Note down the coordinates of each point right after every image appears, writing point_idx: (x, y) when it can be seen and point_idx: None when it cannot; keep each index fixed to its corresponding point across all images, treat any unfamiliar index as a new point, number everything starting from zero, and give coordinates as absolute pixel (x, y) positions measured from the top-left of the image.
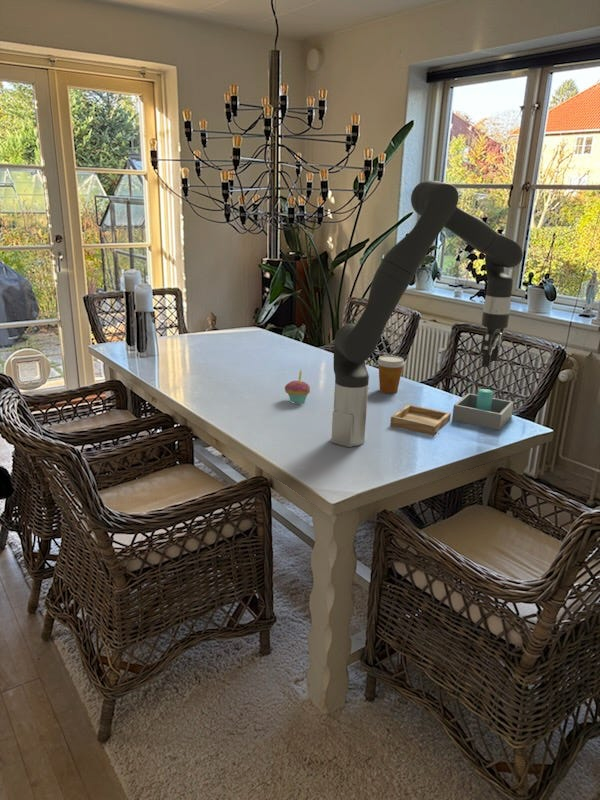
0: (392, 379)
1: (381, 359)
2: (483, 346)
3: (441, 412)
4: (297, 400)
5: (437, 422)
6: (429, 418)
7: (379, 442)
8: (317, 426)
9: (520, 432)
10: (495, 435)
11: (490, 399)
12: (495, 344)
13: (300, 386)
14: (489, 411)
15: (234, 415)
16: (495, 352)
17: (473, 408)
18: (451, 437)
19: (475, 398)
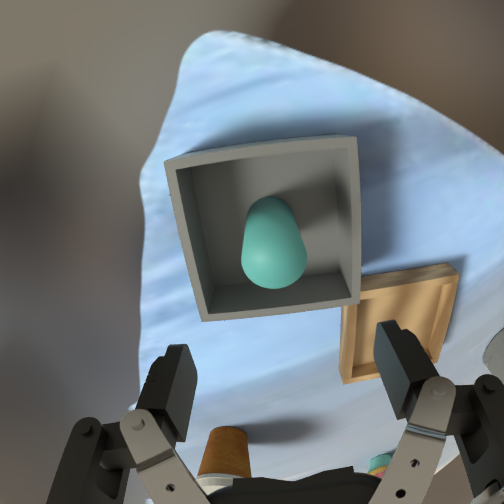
0: (241, 454)
1: None
2: (484, 450)
3: (356, 313)
4: (391, 458)
5: (434, 283)
6: (368, 320)
7: (499, 313)
8: None
9: (277, 84)
10: (358, 137)
11: (282, 220)
12: (406, 464)
13: None
14: (351, 185)
15: (452, 447)
16: (177, 401)
17: (355, 243)
18: (437, 228)
19: (205, 289)
